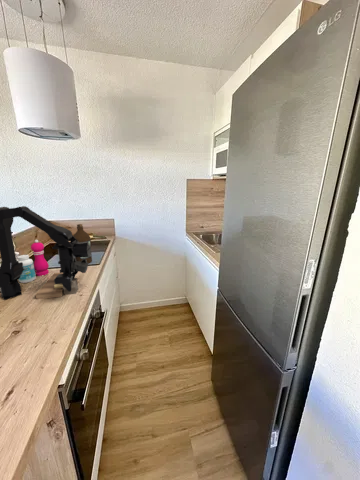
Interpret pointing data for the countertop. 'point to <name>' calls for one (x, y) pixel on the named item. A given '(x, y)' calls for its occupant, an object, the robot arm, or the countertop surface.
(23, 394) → the countertop surface
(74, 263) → the robot arm
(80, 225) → the olive oil
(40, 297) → the plank
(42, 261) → the pepper mill
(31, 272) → the pill bottle
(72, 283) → the grey and beige block
